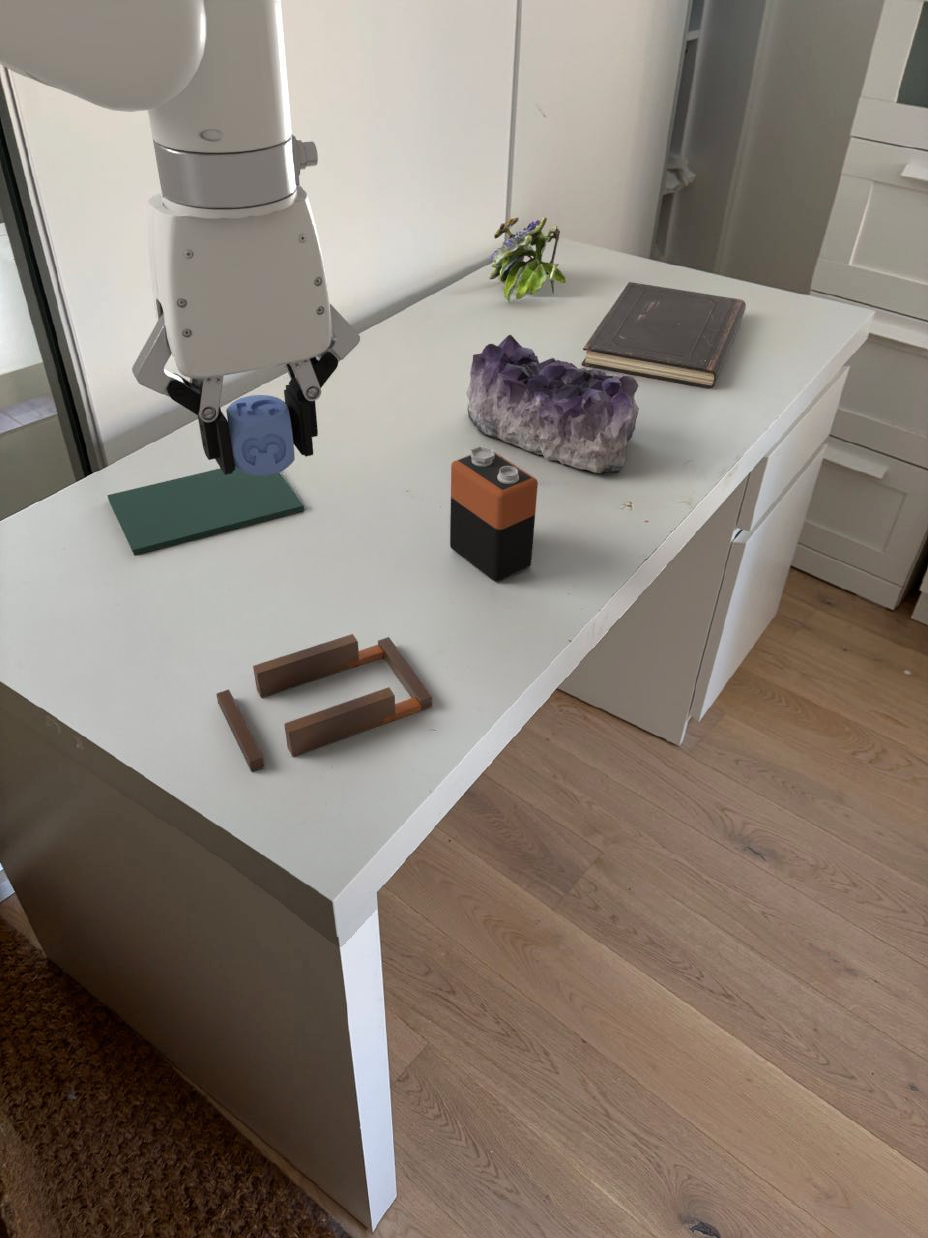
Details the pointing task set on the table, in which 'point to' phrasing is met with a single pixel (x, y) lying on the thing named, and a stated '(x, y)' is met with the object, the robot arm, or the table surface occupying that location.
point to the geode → (552, 407)
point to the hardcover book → (666, 334)
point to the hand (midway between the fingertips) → (262, 453)
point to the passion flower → (512, 257)
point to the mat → (200, 507)
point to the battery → (492, 513)
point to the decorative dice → (260, 435)
